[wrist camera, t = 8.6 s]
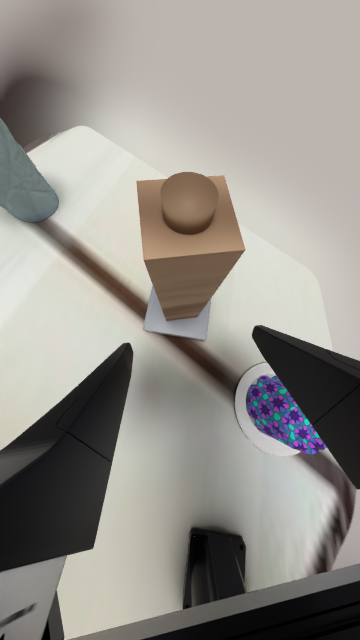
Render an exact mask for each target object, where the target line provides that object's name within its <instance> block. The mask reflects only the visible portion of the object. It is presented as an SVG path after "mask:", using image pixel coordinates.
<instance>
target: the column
mask: <svg viewBox="0 0 360 640" xmlns="http://www.w3.org/2000/svg"><path fill="white" fill-rule="evenodd" d="M137 192H138V203H139V214H140V225H141V236H142V247H143V258H144V262H145V265H146V268H147V270H148V273H149V276H150V278H151V281H152V284H153V287H154V289H155V292H156V295H157V297H158V300H159V303H160V306H161V308H162V311H163V314H164V316H165V319H166V321H173V320H180V319H188V318H196V317H198V316H199V314H200V313H201V311H202V310H203V309H204V307H205V306H206V304H207V303H208V302H209V300H210V299H211V297H212V296H213V294H214V293H215V292H216V290H217V289H218V287H219V286H220V285H221V283H222V282H223V280H224V279H225V278H226V276H227V275H228V273H229V272H230V271H231V269H232V268H233V266H234V265H235V264H236V262H237V261H238V259H239V258H240V256H241V255H242V254H243V252H244V251H245V247H244V244H243V240H242V237H241V233H240V230H239V226H238V223H237V219H236V216H235V212H234V209H233V205H232V201H231V198H230V194H229V191H228V188H227V184H226V180H225V177H224V176H210V177H205V176H203V175H201V174H198V173H193V172H182V173H178V174H175V175H172V176H171V177H169V178H168V179H161V180H145V181H137Z"/></svg>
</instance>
